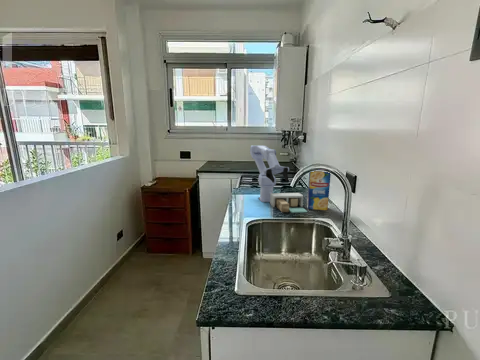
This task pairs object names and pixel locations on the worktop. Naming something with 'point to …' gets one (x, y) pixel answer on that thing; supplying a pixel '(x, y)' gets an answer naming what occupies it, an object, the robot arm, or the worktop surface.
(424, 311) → the worktop surface
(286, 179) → the robot arm
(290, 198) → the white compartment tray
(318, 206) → the beverage box
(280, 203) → the beech bar
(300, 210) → the teal mat
